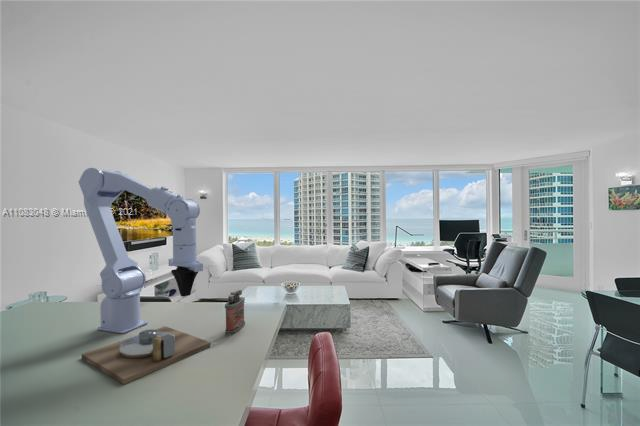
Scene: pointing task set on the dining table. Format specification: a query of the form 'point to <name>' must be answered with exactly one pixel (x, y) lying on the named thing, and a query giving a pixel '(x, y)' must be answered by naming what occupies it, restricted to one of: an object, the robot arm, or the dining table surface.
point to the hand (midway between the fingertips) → (185, 295)
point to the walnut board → (138, 367)
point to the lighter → (234, 313)
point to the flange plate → (148, 344)
